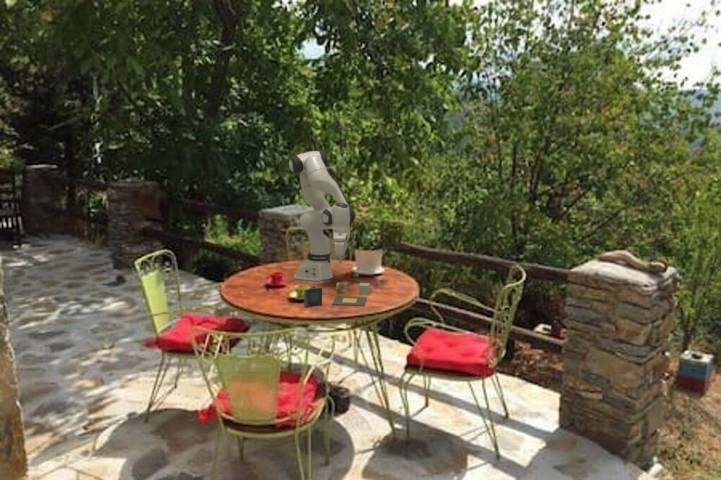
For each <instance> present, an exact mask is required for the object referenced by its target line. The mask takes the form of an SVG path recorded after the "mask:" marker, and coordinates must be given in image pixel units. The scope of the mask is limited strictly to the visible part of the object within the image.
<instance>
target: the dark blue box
mask: <svg viewBox="0 0 721 480" xmlns="http://www.w3.org/2000/svg"><path fill="white" fill-rule="evenodd" d="M303 301H304V302H303V304H304V305H303V306H304V308H311V307H317V306H318V307H319V306H322V305H323V287H321V286H319V285H317V286H316V285H314V283H312V284H311V286H310V287H306V288H304V289H303Z"/></svg>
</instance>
